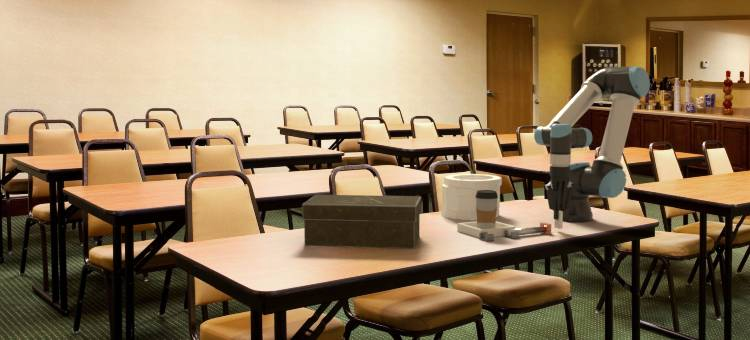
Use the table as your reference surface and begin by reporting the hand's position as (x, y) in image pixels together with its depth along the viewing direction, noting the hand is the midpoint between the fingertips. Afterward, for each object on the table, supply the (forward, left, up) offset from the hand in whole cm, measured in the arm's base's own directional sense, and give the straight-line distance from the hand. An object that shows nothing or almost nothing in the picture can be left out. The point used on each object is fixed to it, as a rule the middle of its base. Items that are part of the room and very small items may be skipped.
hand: (558, 227), depth 296 cm
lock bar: (+15, 0, -2) cm, 15 cm away
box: (+72, -19, -2) cm, 75 cm away
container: (+8, -46, -2) cm, 47 cm away
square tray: (+25, -11, -2) cm, 27 cm away
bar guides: (+27, 0, -2) cm, 27 cm away
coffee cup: (+25, -11, -1) cm, 27 cm away
